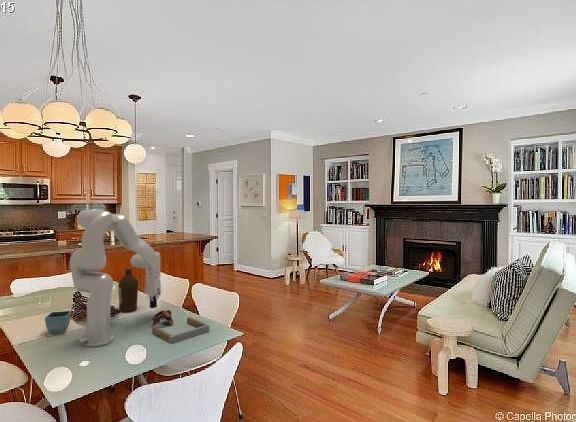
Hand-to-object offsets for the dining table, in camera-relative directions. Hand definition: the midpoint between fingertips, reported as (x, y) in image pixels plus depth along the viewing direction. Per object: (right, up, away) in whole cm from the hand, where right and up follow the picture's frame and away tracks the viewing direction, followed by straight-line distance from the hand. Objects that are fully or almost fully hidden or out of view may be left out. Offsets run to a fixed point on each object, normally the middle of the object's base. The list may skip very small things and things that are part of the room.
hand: (153, 307), depth 190 cm
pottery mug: (+9, -7, -8) cm, 14 cm away
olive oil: (-20, -5, +12) cm, 24 cm away
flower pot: (-37, -6, -23) cm, 44 cm away
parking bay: (+21, -7, -19) cm, 29 cm away
